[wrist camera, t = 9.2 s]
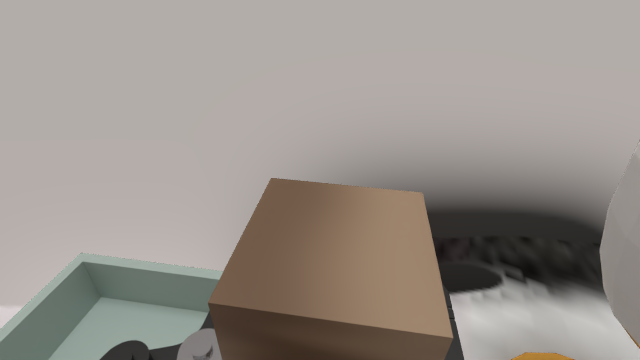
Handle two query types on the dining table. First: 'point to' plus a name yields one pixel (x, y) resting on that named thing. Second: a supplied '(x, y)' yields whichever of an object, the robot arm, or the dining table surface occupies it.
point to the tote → (109, 309)
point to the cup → (619, 256)
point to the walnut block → (333, 278)
